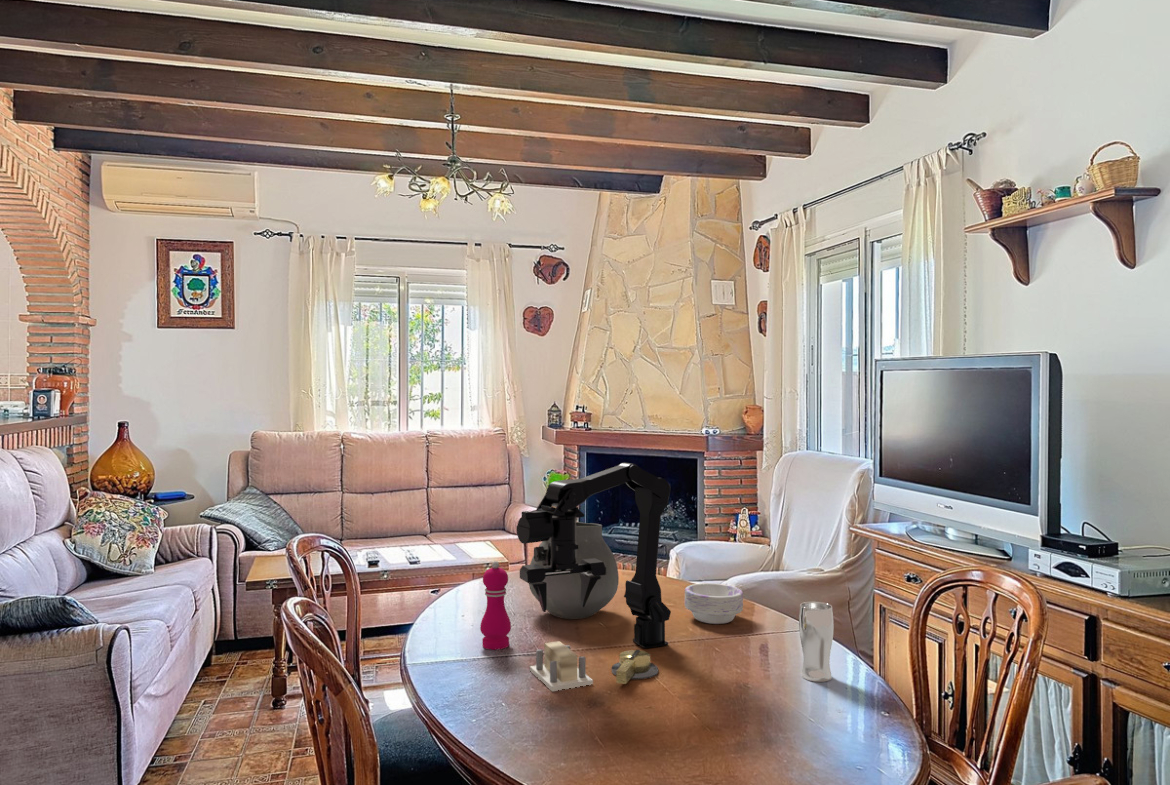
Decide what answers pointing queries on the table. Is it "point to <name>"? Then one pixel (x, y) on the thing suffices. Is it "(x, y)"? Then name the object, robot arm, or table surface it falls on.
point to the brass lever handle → (631, 664)
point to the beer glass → (816, 640)
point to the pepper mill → (495, 609)
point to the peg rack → (551, 676)
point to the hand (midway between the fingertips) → (563, 609)
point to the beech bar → (561, 660)
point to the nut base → (639, 675)
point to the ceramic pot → (568, 586)
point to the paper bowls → (713, 602)
